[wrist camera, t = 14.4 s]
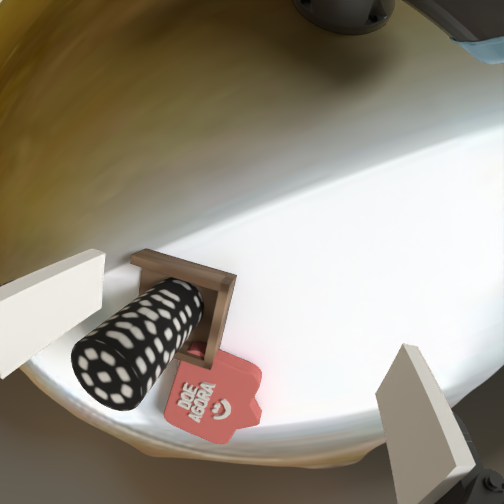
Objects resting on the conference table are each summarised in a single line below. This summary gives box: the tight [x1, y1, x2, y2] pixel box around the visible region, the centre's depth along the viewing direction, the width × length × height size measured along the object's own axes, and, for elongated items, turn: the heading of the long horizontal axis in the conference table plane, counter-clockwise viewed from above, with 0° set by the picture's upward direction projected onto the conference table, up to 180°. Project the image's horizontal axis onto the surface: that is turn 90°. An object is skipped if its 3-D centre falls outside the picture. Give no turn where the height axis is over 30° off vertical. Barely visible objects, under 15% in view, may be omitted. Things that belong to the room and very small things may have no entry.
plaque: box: [164, 342, 262, 444], centre depth 45 cm, size 18×4×15 cm
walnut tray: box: [130, 249, 237, 370], centre depth 43 cm, size 13×14×4 cm
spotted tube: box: [71, 277, 204, 411], centre depth 35 cm, size 8×8×20 cm
